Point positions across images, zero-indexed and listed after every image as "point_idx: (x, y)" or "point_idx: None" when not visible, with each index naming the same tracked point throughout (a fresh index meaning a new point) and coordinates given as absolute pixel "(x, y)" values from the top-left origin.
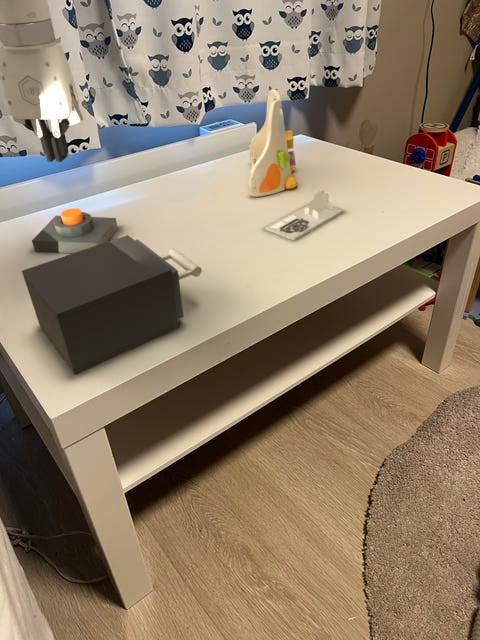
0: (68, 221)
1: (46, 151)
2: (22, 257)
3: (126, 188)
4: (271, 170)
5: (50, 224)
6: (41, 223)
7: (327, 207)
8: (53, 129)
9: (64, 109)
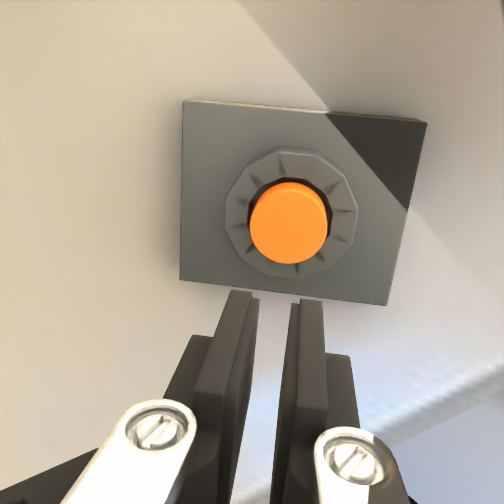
0: (291, 185)
1: (310, 334)
2: (452, 78)
3: (238, 488)
4: None
5: (387, 244)
6: (442, 309)
7: None
8: (164, 469)
9: None
